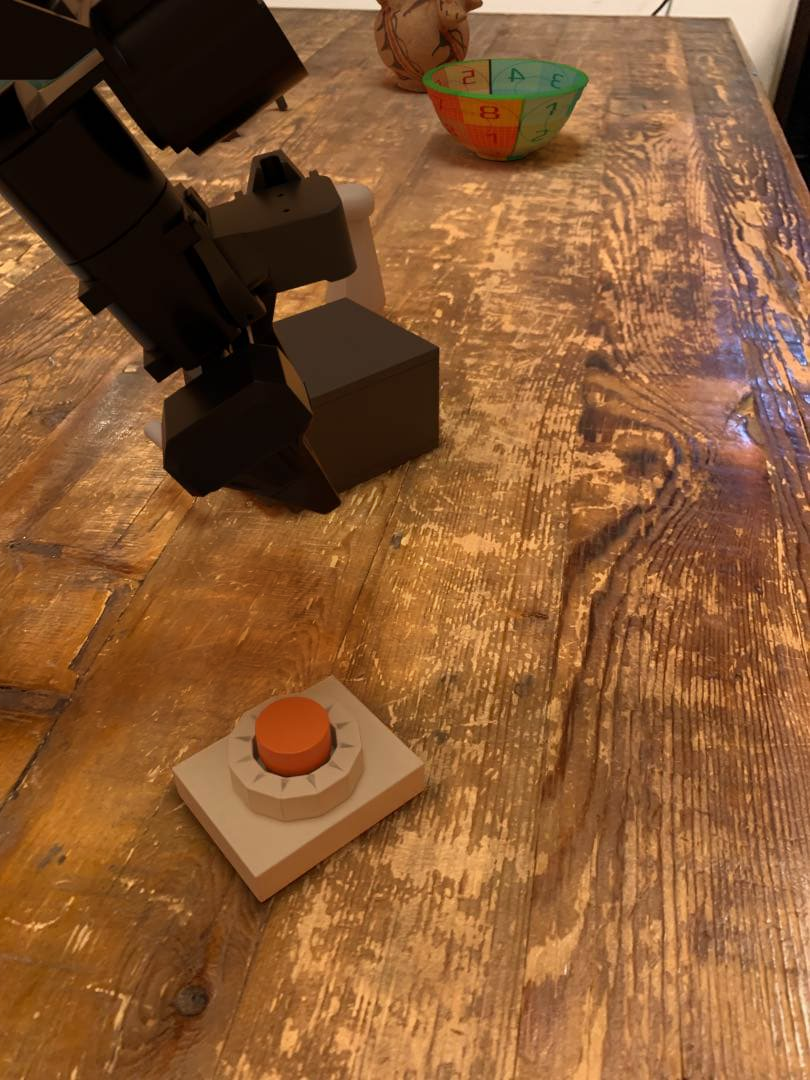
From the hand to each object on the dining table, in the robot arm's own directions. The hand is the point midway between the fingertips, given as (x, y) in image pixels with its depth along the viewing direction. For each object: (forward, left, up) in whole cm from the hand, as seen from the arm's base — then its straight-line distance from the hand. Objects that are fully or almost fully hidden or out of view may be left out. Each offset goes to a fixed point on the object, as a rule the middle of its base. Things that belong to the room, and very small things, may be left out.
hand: (319, 457), depth 50 cm
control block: (-8, -8, -13) cm, 18 cm away
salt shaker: (+27, +34, -13) cm, 45 cm away
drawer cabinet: (+12, +18, -13) cm, 25 cm away
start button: (-8, -8, -9) cm, 15 cm away
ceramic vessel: (+92, +100, -13) cm, 136 cm away
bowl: (+75, +64, -13) cm, 99 cm away
